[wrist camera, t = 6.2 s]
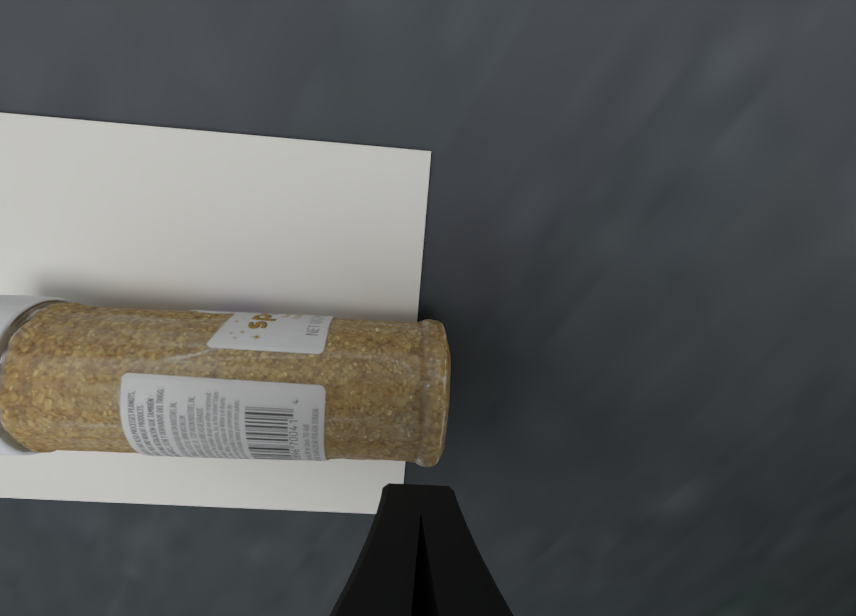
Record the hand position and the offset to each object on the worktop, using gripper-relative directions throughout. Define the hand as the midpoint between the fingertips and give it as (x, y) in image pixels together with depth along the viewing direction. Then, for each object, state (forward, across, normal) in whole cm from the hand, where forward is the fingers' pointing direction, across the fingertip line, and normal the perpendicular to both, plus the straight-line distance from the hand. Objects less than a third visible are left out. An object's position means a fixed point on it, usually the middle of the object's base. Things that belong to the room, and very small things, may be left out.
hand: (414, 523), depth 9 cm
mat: (+8, +10, 0) cm, 13 cm away
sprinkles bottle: (+5, -1, 0) cm, 5 cm away
